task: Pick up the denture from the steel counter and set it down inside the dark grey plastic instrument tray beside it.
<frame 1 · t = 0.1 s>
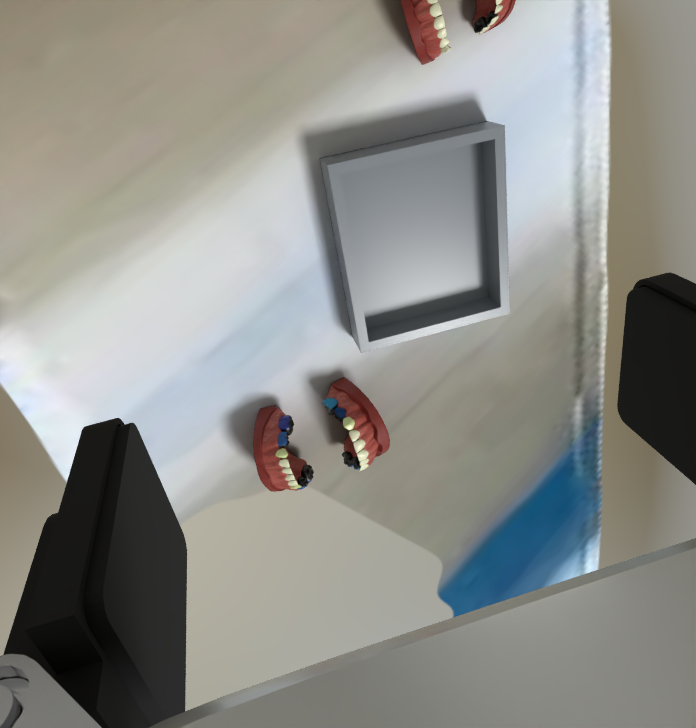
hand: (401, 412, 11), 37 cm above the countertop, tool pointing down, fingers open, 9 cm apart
tray: (415, 236, 49), on the countertop
denture: (443, 6, 41), on the countertop
teeth model: (314, 424, 56), on the countertop
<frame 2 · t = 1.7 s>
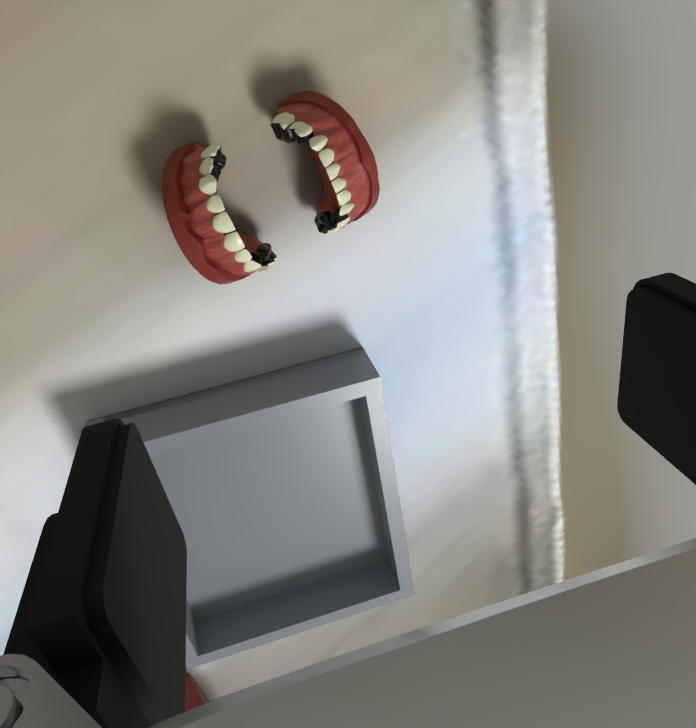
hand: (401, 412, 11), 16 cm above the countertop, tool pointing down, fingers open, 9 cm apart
tray: (266, 499, 32), on the countertop
denture: (267, 184, 25), on the countertop
teeth model: (153, 722, 40), on the countertop
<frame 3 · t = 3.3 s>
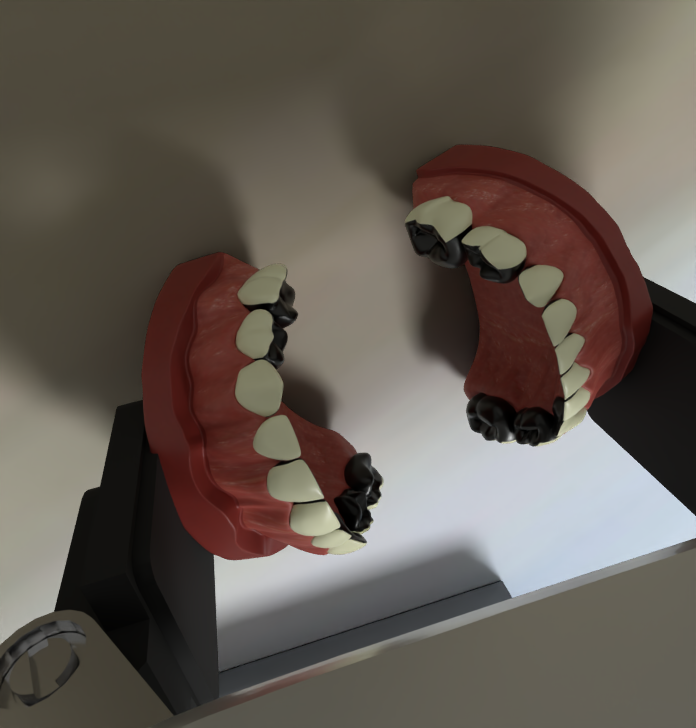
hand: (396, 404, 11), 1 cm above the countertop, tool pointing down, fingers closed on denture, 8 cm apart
denture: (364, 325, 12), on the countertop, touching gripper
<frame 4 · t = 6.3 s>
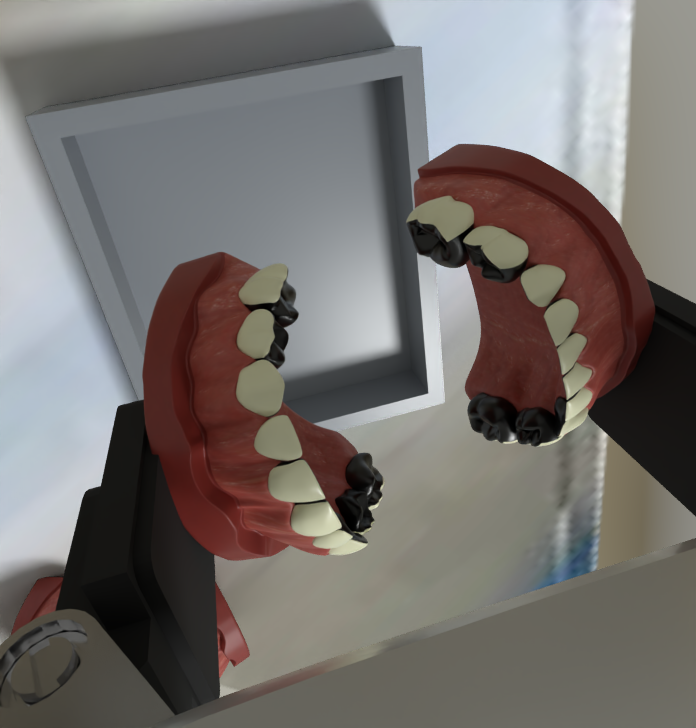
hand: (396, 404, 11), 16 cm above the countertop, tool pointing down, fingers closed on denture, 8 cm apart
tray: (269, 265, 26), on the countertop
denture: (365, 325, 12), point 15 cm above the countertop, touching gripper
teeth model: (139, 596, 35), on the countertop
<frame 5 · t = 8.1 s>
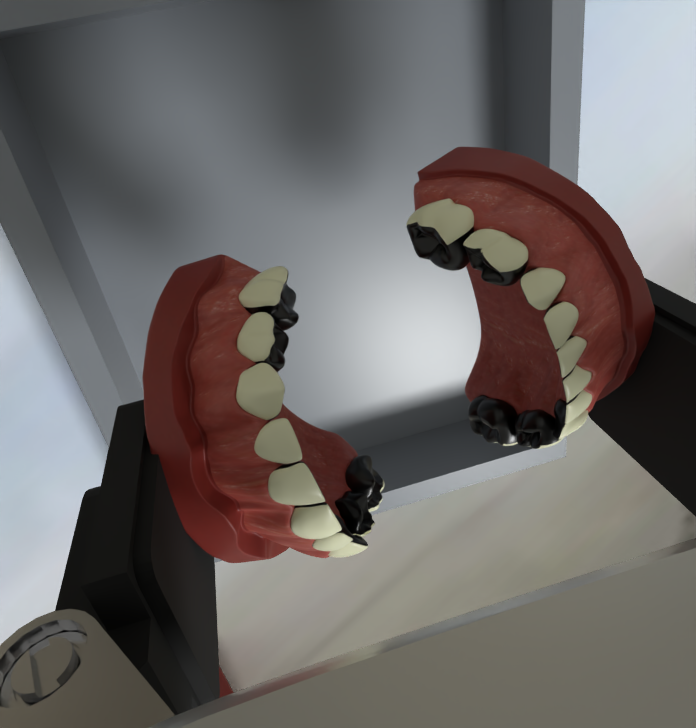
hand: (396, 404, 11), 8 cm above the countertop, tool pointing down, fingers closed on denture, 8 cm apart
tray: (315, 262, 18), on the countertop
denture: (365, 327, 12), point 6 cm above the countertop, touching gripper
when the fingers open (4 cm above the countertop, at t = 9.5 s): denture drops 2 cm, resting on tray.
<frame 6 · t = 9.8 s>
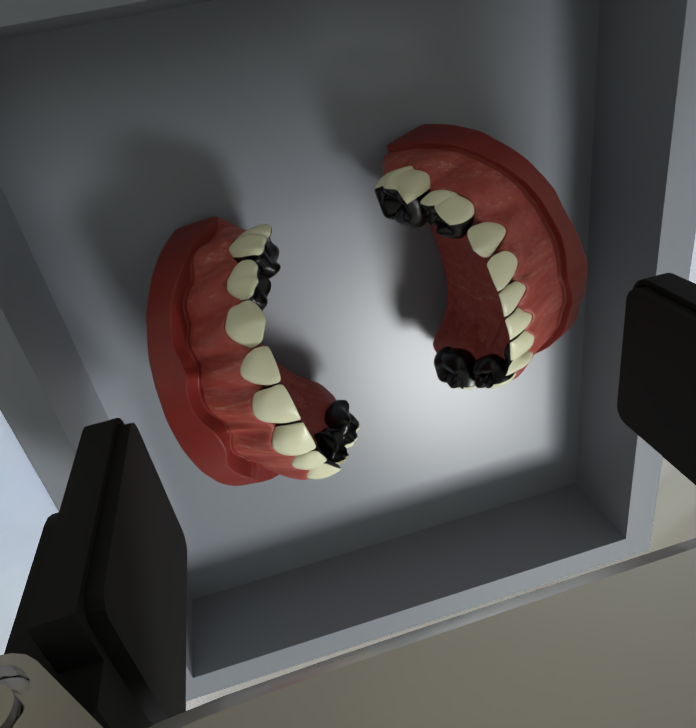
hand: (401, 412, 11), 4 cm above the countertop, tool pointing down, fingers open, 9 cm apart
tray: (350, 323, 14), on the countertop
denture: (344, 287, 13), resting on tray
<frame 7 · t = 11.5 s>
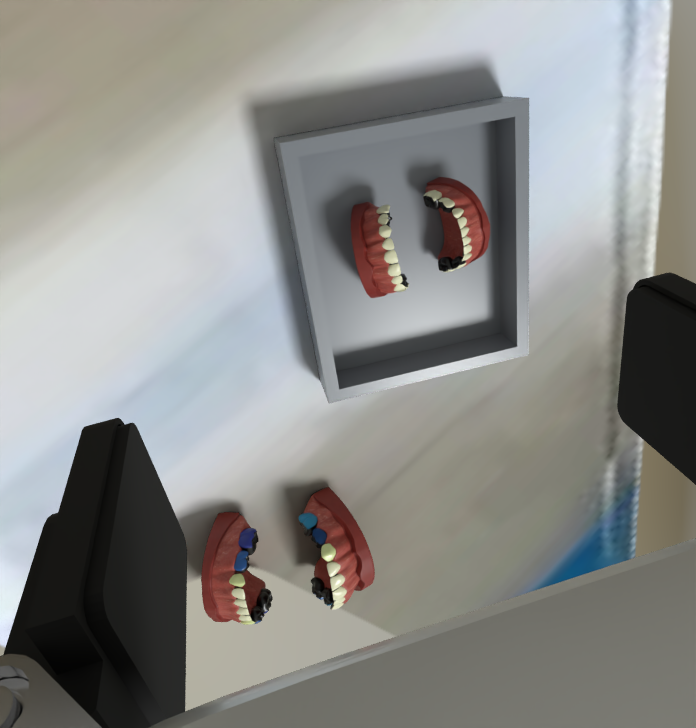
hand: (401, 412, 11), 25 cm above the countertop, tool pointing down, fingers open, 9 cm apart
tray: (405, 249, 36), on the countertop
denture: (406, 234, 36), resting on tray
teeth model: (282, 537, 45), on the countertop
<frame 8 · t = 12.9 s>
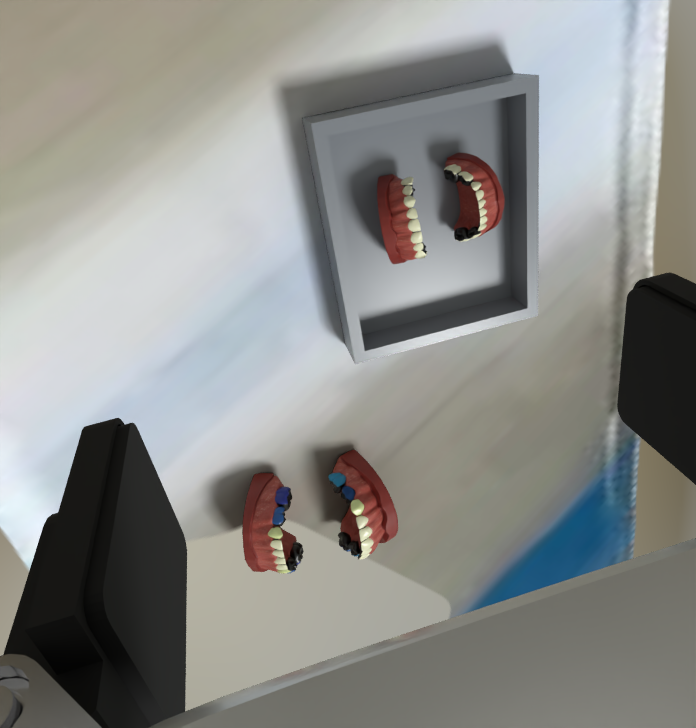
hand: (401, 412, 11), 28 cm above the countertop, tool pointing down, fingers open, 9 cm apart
tray: (423, 220, 39), on the countertop
denture: (425, 205, 38), resting on tray
teeth model: (311, 496, 49), on the countertop
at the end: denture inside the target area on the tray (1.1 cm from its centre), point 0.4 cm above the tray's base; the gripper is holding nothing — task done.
